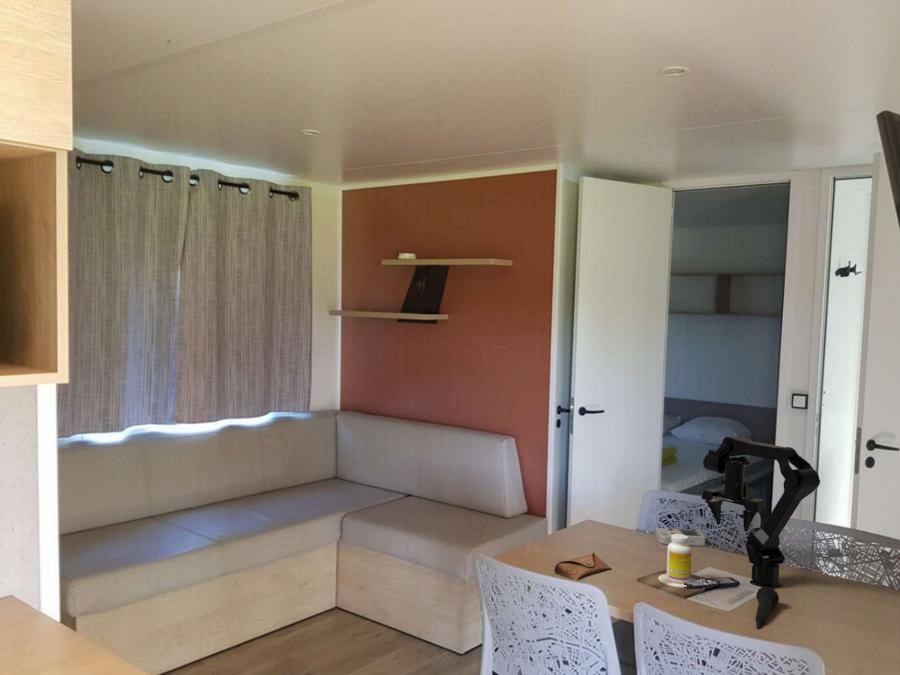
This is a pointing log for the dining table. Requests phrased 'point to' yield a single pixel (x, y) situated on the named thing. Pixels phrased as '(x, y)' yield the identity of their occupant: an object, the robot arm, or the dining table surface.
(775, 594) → the microphone
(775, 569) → the robot arm
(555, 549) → the dining table surface
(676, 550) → the supplement bottle
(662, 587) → the brown flat square board
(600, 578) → the dining table surface
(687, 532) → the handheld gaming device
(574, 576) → the sunglasses case
